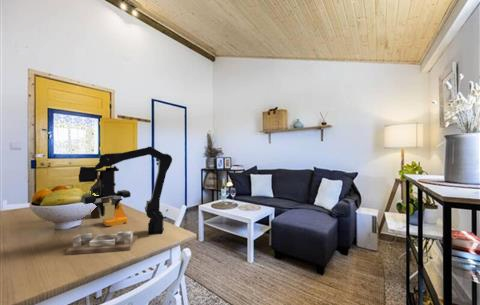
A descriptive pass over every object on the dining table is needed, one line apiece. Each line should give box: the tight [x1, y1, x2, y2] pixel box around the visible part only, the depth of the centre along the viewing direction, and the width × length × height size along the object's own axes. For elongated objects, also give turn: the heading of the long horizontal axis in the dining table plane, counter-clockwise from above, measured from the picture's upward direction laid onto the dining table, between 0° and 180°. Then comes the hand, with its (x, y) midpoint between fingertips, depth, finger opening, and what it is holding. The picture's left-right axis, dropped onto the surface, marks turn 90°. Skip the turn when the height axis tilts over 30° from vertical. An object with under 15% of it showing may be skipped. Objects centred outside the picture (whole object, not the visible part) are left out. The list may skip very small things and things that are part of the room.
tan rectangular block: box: [99, 202, 115, 220], centre depth 100 cm, size 6×4×6 cm, turn 51°
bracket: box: [102, 201, 129, 227], centre depth 121 cm, size 11×7×12 cm, turn 132°
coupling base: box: [66, 230, 139, 255], centre depth 93 cm, size 23×12×6 cm, turn 101°
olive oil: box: [89, 174, 111, 219], centre depth 133 cm, size 11×11×25 cm
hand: (107, 215), depth 100 cm, fingers closed on tan rectangular block, 4 cm apart
